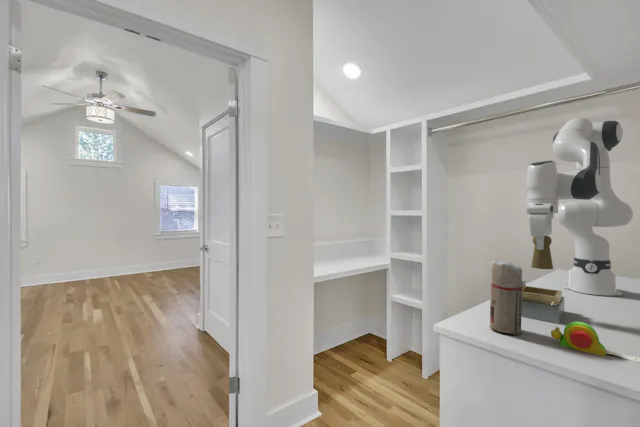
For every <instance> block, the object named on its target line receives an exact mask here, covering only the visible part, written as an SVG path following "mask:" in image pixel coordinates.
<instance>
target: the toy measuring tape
mask: <svg viewBox="0 0 640 427" xmlns="http://www.w3.org/2000/svg"><path fill="white" fill-rule="evenodd" d="M563 329H564V330H563V333H562V331H560V330H561V329H560V327H558V326H556V327H555V329H553V330H551V331H550V335H551V337H552V338H553V339H555V340H559V345H560V346H561V347H566V348H569V349H574V350H577V351H581V352H584V353H590V354H594V355H599V356H603V357H606V356H607V355H613V356H616V357H619V358H622V359H625V360H628V361H631V362H636V363H640V357H638V356H634V355H628V354H622V353H618V352H612V351H607V349H606V346H604V344H603V343H602V342H600V340H599V335H598V333H597V331H596V330H595V329H594V328H593V327H592V326H591V325H590V324H588V323H585V322H583V321H571V322H569V323H568V324H566V325H565V327H564V328H563Z"/></svg>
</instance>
